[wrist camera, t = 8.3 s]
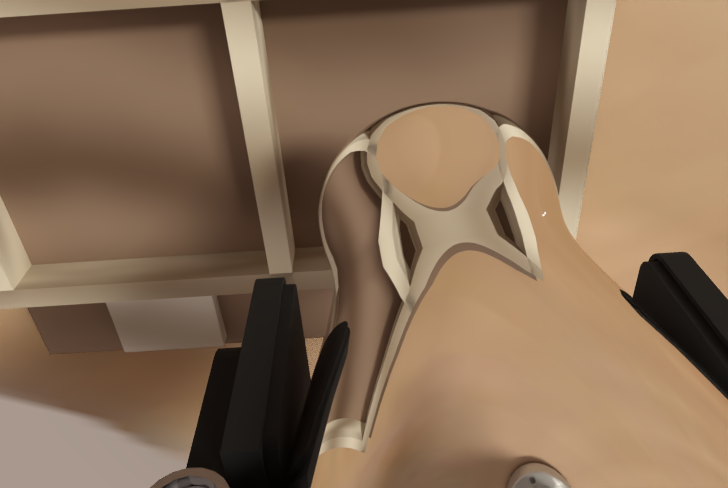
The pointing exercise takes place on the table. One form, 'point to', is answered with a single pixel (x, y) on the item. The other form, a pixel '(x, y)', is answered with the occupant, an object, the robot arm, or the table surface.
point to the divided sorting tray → (240, 142)
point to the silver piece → (486, 330)
